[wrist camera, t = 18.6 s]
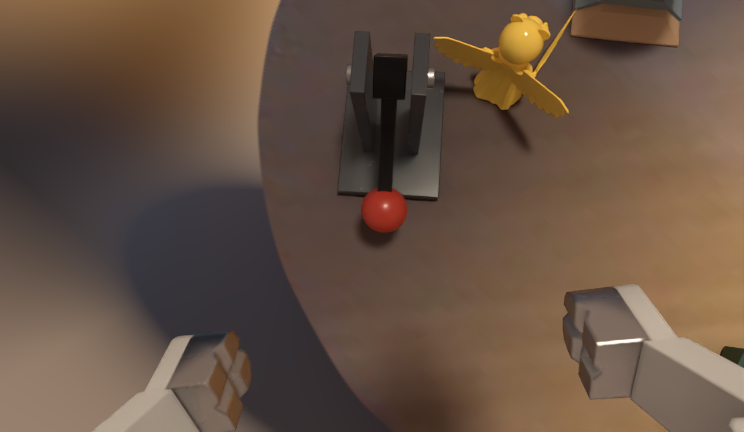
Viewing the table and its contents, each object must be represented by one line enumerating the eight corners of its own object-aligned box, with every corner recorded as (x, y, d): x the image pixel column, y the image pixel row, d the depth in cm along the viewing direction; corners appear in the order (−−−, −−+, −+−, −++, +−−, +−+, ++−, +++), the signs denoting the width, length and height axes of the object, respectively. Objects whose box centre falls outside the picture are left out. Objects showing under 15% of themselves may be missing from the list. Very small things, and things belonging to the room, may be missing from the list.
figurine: (601, 46, 41) (654, -21, 33) (537, 147, 40) (575, 106, 31) (491, -11, 43) (514, -89, 35) (426, 84, 42) (433, 28, 33)
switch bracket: (437, 200, 39) (455, 154, 27) (339, 194, 40) (312, 146, 28) (443, 78, 42) (463, -17, 29) (350, 74, 42) (330, -21, 30)
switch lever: (406, 222, 36) (405, 242, 33) (363, 219, 37) (358, 238, 33) (417, 54, 31) (418, 57, 28) (367, 52, 31) (362, 55, 28)
